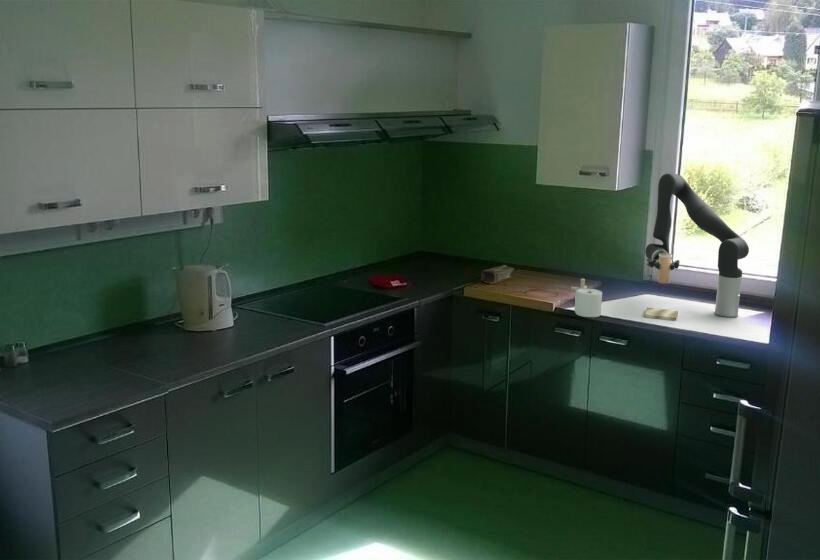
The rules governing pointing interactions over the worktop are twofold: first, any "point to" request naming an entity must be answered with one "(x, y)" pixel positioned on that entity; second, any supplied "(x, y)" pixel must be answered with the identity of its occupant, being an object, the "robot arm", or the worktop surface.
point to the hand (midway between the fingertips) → (665, 267)
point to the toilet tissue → (588, 302)
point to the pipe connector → (580, 286)
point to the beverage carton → (497, 273)
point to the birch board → (661, 313)
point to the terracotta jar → (664, 268)
